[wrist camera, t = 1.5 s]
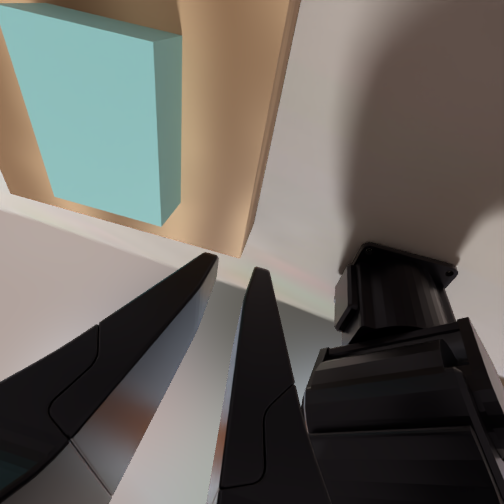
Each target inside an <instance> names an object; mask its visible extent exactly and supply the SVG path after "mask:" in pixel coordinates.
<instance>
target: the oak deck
mask: <svg viewBox="0 0 504 504" xmlns="http://www.w3.org/2000/svg"><path fill="white" fill-rule="evenodd" d="M300 2H301V0H0V3H48V4H53V5H57V6H61V7H65V8H69V9H73V10H78V11H82V12H86V13H90V14H94V15H99V16H103V17H107V18H111V19H115V20H119V21H124V22H128V23H132V24H136V25H140V26H145V27H149V28H153V29H157V30H161V31H165V32H170V33H174V34H178V35H182V124H181V203H180V204H179V205H178V207H177V208H176V209H175V210H174V212H173V213H172V214H171V215H170V217H169V218H168V219H167V220H166V222H165V223H164V224H163V226H162V227H160V226H156V225H153V224H149V223H146V222H142V221H139V220H135V219H132V218H128V217H125V216H121V215H117V214H114V213H110V212H107V211H103V210H100V209H96V208H93V207H89V206H85V205H82V204H78V203H75V202H71V201H68V200H64V199H61V198H57V197H54V194H53V191H52V188H51V184H50V181H49V178H48V175H47V172H46V169H45V165H44V162H43V159H42V156H41V153H40V150H39V146H38V143H37V140H36V137H35V134H34V131H33V127H32V124H31V121H30V118H29V115H28V112H27V108H26V105H25V102H24V99H23V96H22V93H21V90H20V86H19V83H18V80H17V77H16V74H15V71H14V67H13V64H12V61H11V58H10V55H9V52H8V48H7V45H6V42H5V39H4V36H3V33H2V29H1V26H0V170H1V172H2V174H3V177H4V179H5V181H6V184H7V186H8V189H9V191H10V193H11V194H14V195H18V196H21V197H25V198H28V199H32V200H35V201H39V202H42V203H46V204H49V205H53V206H56V207H60V208H63V209H67V210H70V211H74V212H78V213H81V214H85V215H88V216H92V217H95V218H99V219H102V220H106V221H109V222H113V223H116V224H120V225H123V226H127V227H130V228H134V229H137V230H141V231H145V232H148V233H152V234H155V235H159V236H162V237H166V238H169V239H173V240H176V241H180V242H183V243H187V244H190V245H194V246H197V247H201V248H204V249H208V250H211V251H215V252H219V253H222V254H226V255H229V256H233V257H236V258H240V257H241V255H242V252H243V250H244V247H245V245H246V242H247V240H248V237H249V235H250V232H251V230H252V227H253V224H254V220H255V216H256V211H257V206H258V201H259V197H260V192H261V187H262V182H263V178H264V173H265V168H266V164H267V159H268V154H269V149H270V145H271V140H272V135H273V130H274V126H275V121H276V116H277V111H278V107H279V102H280V97H281V92H282V88H283V83H284V78H285V73H286V69H287V64H288V59H289V55H290V50H291V45H292V40H293V36H294V31H295V26H296V21H297V17H298V12H299V7H300Z"/></svg>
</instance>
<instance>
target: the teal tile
mask: <svg viewBox="0 0 504 504" xmlns="http://www.w3.org/2000/svg"><path fill="white" fill-rule="evenodd" d="M0 26H1V29H2V33H3V36H4V39H5V42H6V45H7V48H8V52H9V55H10V58H11V61H12V64H13V67H14V71H15V74H16V77H17V80H18V83H19V86H20V90H21V93H22V96H23V99H24V102H25V105H26V108H27V112H28V115H29V118H30V121H31V124H32V127H33V131H34V134H35V137H36V140H37V143H38V146H39V150H40V153H41V156H42V159H43V162H44V165H45V169H46V172H47V175H48V178H49V181H50V184H51V188H52V191H53V194H54V197H57V198H61V199H64V200H68V201H71V202H75V203H78V204H82V205H85V206H89V207H93V208H96V209H100V210H103V211H107V212H110V213H114V214H117V215H121V216H125V217H128V218H132V219H135V220H139V221H142V222H146V223H149V224H153V225H156V226H160V227H162V226H163V224H164V223H165V222H166V220H167V219H168V218H169V217H170V215H171V214H172V213H173V212H174V210H175V209H176V208H177V207H178V205H179V204H180V203H181V124H182V35H178V34H174V33H170V32H165V31H161V30H157V29H153V28H149V27H145V26H140V25H136V24H132V23H128V22H124V21H119V20H115V19H111V18H107V17H103V16H99V15H94V14H90V13H86V12H82V11H78V10H73V9H69V8H65V7H61V6H57V5H53V4H48V3H0Z"/></svg>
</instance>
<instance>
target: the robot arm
mask: <svg viewBox="0 0 504 504" xmlns="http://www.w3.org/2000/svg"><path fill="white" fill-rule="evenodd" d="M367 249H372V250H371V251H367ZM218 260H219V258H218V256H217V255H214V254H210V253H207V252H205V253H202V254H201V255H199V256H198V257H196V258H195V259H193V260H192V261H190V262H189V263H187V264H186V265H184V266H183V267H181V268H180V269H178V270H177V271H176V272H174V273H173V274H171V275H169V276H168V277H166V278H165V279H163V280H162V281H161V282H159V283H157V284H156V285H154V286H153V287H152V288H150V289H149V290H147V291H146V292H144V293H143V294H141V295H140V296H138V297H137V298H135V299H134V300H132V301H131V302H129V303H128V304H126V305H125V306H123V307H122V308H120V309H119V310H117V311H116V312H114V313H113V314H111V315H110V316H108V317H107V318H105V319H104V320H102V321H101V322H100V323H99V325H95V326H93V327H92V328H90V329H89V330H87V331H86V332H84V333H83V334H81V335H80V336H78V337H77V338H75V339H73V340H72V341H71V342H69V343H67V344H65V345H64V346H62V347H61V348H60V349H58V350H56V351H54V352H52V353H51V354H49V355H47V356H46V357H44V358H42V359H40V360H39V361H37V362H35V363H33V364H32V365H30V366H28V367H26V368H24V369H23V370H21V371H19V372H17V373H15V374H13V375H12V376H10V377H8V378H7V379H4V380H3V381H1V382H0V504H109V502H110V500H111V498H112V495H113V494H114V492H115V490H116V488H117V486H118V484H119V482H120V481H121V479H122V477H123V475H124V473H125V471H126V469H127V467H128V465H129V463H130V461H131V459H132V457H133V455H134V453H135V451H136V449H137V447H138V445H139V443H140V441H141V440H142V438H143V436H144V433H145V432H146V430H147V428H148V426H149V424H150V422H151V420H152V418H153V416H154V414H155V412H156V410H157V408H158V406H159V404H160V402H161V400H162V399H163V396H164V394H165V393H166V391H167V389H168V387H169V385H170V383H171V381H172V379H173V377H174V375H175V373H176V371H177V369H178V367H179V365H180V363H181V361H182V359H183V357H184V355H185V354H186V352H187V350H188V348H189V346H190V344H191V342H192V340H193V338H194V336H195V334H196V332H197V329H198V327H199V324H200V322H201V319H202V317H203V314H204V311H205V308H206V305H207V303H208V300H209V297H210V295H211V292H212V289H213V286H214V284H215V281H216V276H217V268H218ZM447 271H451V272H447ZM457 274H458V271H457V268H456V267H455V266H454V265H452V264H448V263H445V262H441V261H437V260H434V259H430V258H426V257H423V256H419V255H415V254H412V253H408V252H404V251H401V250H397V249H393V248H390V247H386V246H382V245H379V244H375V243H370V242H368V243H365V244H363V245H362V247H361V248H360V250H359V252H358V254H357V256H356V258H355V260H354V261H353V263H352V265H351V264H350V265H348V266H346V268H345V270H344V272H343V274H342V276H341V278H340V280H339V282H338V283H337V285H336V287H335V297H334V302H335V323H334V327H335V329H336V330H337V331H339V332H342V346H340V347H335V348H329V347H328V348H323V349H320V352H319V355H318V357H317V360H316V363H315V366H314V368H313V371H312V373H311V376H310V379H309V381H308V385H307V387H306V390H305V392H304V396H303V399H302V405H301V406H300V403H299V398H298V394H297V390H296V386H295V385H294V382H295V381H294V377H293V373H292V368H291V364H290V359H289V356H288V351H287V346H286V342H285V337H284V333H283V329H282V324H281V320H280V316H279V311H278V307H277V302H276V298H275V294H274V289H273V285H272V280H271V276H270V272H269V271H268V270H267V269H263V268H260V267H255V268H254V270H253V273H252V276H251V279H250V281H249V284H248V287H247V290H246V293H245V296H244V300H243V304H242V308H241V313H240V317H239V321H238V326H237V330H236V334H235V339H234V343H233V348H232V354H231V360H230V366H229V372H228V379H227V384H226V390H225V396H224V402H223V408H222V414H221V420H220V426H219V432H218V438H217V444H216V450H215V455H214V461H213V467H212V474H211V479H210V485H209V491H208V497H207V504H504V388H503V385H502V383H501V380H500V378H499V376H498V374H497V371H496V369H495V367H494V365H493V363H492V361H491V359H490V357H489V355H488V353H487V351H486V349H485V347H484V346H483V344H482V342H481V340H480V338H479V336H478V334H477V332H476V330H475V329H474V327H473V325H472V323H471V321H470V319H469V317H466V318H462V319H457V322H456V319H455V317H454V314H453V311H452V308H451V305H450V302H449V300H448V297H447V294H446V291H445V288H446V287H447V286H448V285H449V284H450V283H451V282H452V281H453V279H454V278H455V277H456V276H457Z"/></svg>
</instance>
